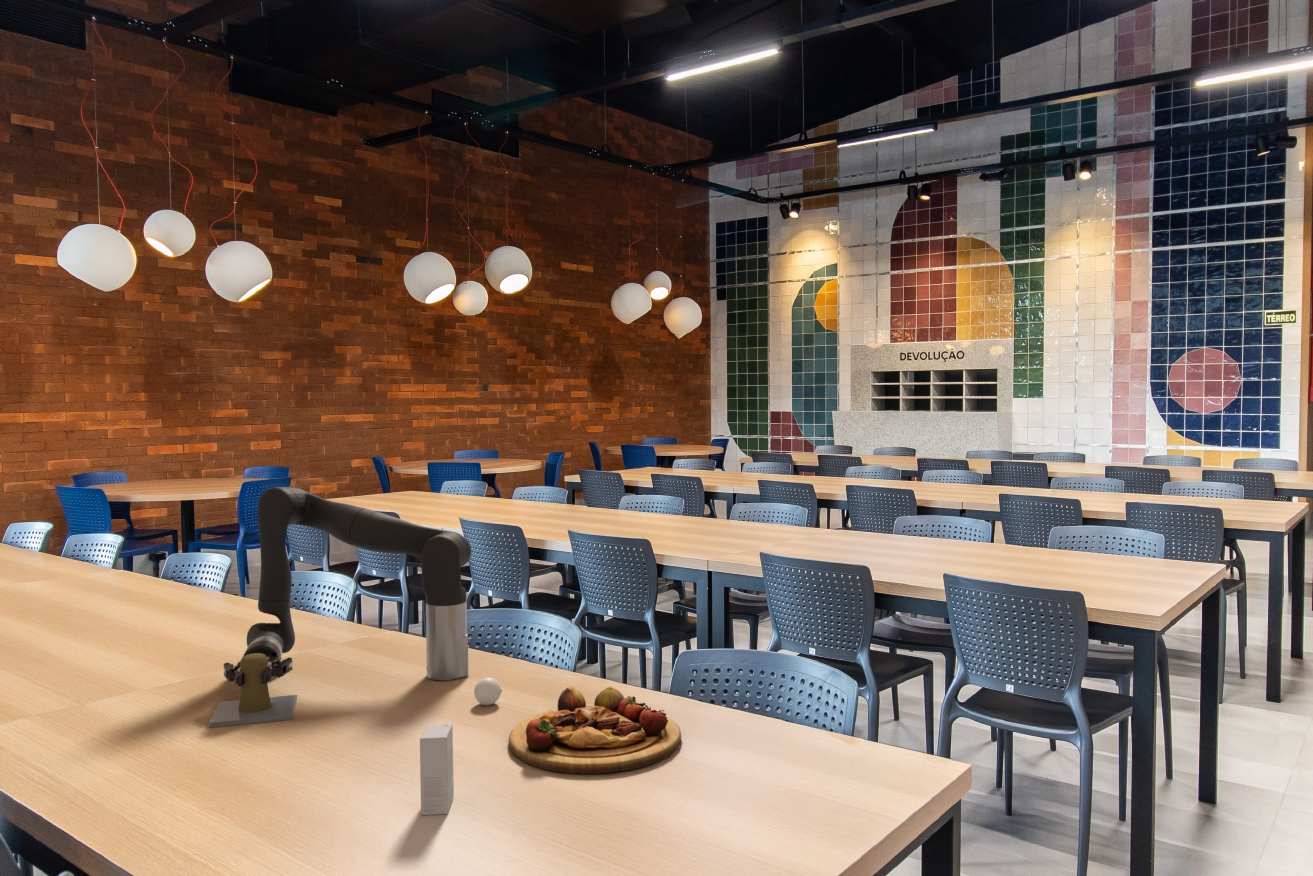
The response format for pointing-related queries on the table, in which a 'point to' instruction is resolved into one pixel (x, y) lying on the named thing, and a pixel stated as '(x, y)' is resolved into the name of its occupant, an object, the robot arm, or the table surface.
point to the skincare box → (436, 769)
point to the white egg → (487, 691)
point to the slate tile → (231, 715)
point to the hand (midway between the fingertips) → (252, 680)
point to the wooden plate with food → (595, 735)
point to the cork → (254, 684)
